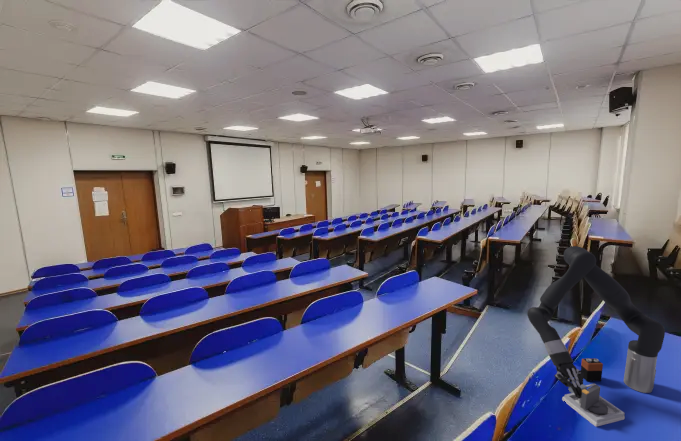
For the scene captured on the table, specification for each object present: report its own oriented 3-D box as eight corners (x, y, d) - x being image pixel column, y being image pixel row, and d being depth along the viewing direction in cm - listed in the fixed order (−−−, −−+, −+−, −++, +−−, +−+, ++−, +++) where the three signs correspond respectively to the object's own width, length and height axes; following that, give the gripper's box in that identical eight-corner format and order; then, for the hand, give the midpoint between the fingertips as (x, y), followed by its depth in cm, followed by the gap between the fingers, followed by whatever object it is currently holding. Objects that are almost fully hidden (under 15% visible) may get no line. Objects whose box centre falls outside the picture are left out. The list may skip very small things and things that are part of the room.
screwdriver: (573, 395, 131) (574, 389, 130) (568, 390, 133) (568, 385, 133) (597, 388, 134) (598, 383, 133) (591, 384, 136) (592, 379, 136)
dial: (587, 395, 128) (589, 375, 126) (612, 410, 120) (615, 389, 118) (569, 404, 123) (571, 384, 122) (595, 420, 115) (597, 399, 114)
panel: (588, 393, 131) (589, 387, 130) (624, 419, 117) (625, 412, 117) (562, 399, 128) (562, 393, 128) (595, 426, 115) (596, 419, 114)
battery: (579, 375, 142) (581, 356, 141) (593, 375, 142) (596, 356, 141) (586, 381, 138) (588, 362, 136) (601, 381, 138) (603, 362, 136)
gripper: (550, 352, 126) (574, 399, 116) (577, 348, 128) (602, 394, 118) (539, 356, 132) (560, 401, 122) (564, 352, 134) (587, 396, 125)
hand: (581, 397), depth 120 cm, fingers closed
